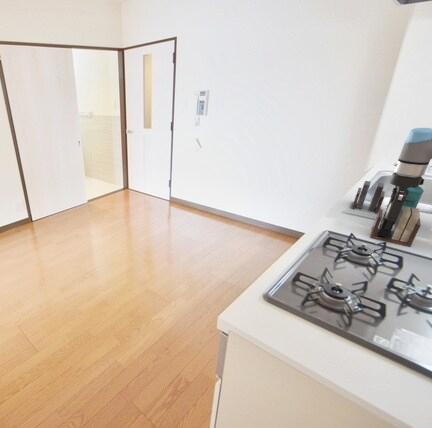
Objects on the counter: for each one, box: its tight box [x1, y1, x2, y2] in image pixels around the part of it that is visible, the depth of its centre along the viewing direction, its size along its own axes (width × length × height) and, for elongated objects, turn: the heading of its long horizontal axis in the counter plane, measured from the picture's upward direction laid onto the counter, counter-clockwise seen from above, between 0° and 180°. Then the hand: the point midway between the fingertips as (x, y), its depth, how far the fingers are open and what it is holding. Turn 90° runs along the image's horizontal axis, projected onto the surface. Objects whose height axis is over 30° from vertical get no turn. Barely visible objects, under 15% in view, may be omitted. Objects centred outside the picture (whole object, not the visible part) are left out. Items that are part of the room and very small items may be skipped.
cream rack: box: [369, 206, 422, 248], centre depth 104 cm, size 11×9×12 cm
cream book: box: [378, 203, 391, 232], centre depth 105 cm, size 2×8×11 cm, turn 138°
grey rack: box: [351, 180, 386, 215], centre depth 125 cm, size 9×9×13 cm
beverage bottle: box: [394, 178, 425, 224], centre depth 111 cm, size 6×7×20 cm
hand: (383, 231), depth 107 cm, fingers closed on cream book, 8 cm apart
